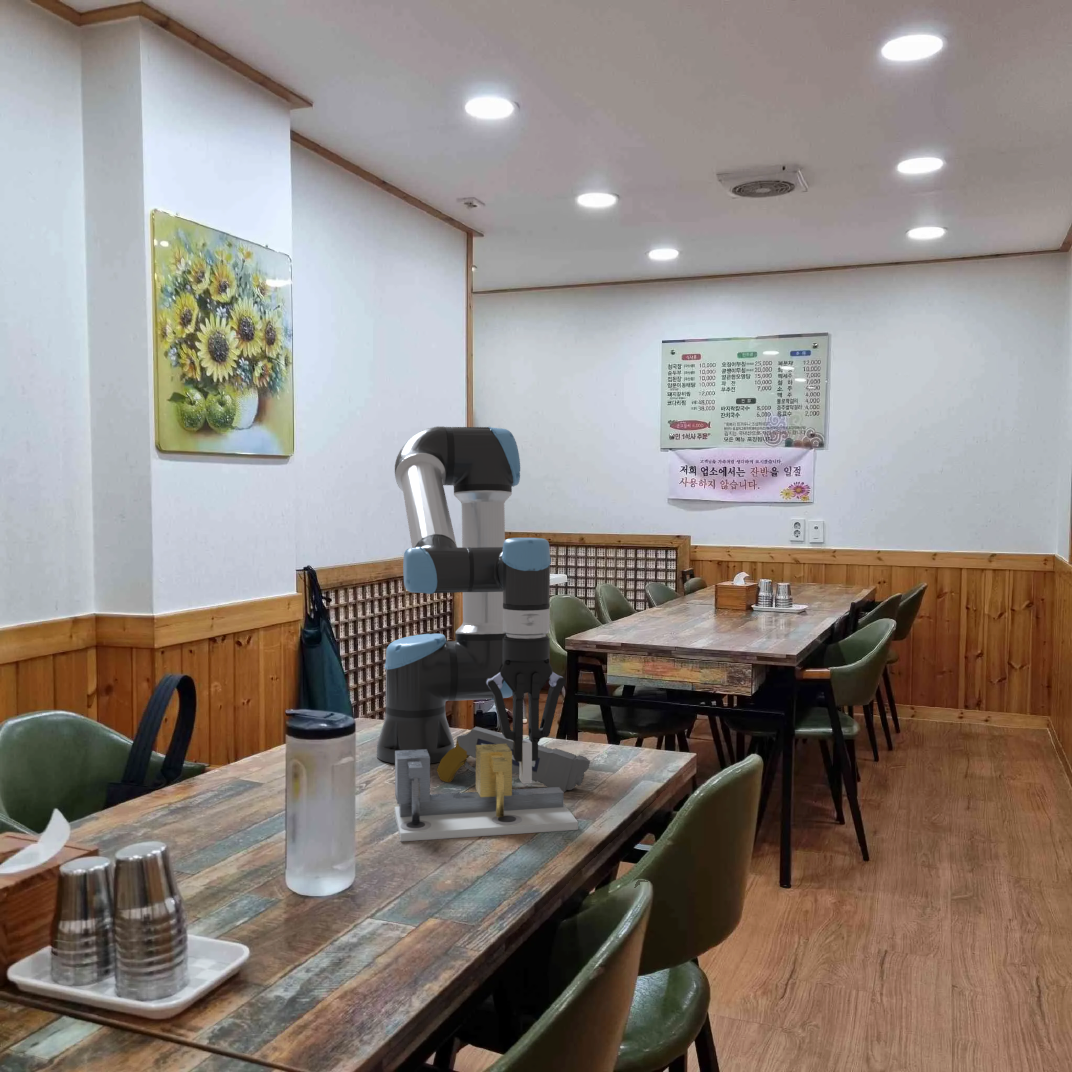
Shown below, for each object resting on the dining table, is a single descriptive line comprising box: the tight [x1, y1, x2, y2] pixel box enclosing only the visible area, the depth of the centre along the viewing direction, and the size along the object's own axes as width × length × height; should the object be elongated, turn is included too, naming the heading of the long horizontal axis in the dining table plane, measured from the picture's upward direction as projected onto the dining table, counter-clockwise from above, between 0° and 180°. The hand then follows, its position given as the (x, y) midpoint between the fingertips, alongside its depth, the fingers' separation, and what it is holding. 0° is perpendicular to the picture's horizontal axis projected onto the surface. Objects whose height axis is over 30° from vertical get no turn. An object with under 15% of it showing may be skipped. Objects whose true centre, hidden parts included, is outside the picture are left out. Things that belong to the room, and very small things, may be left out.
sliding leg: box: [475, 744, 513, 817], centre depth 158 cm, size 9×5×9 cm, turn 12°
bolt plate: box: [394, 803, 579, 842], centre depth 157 cm, size 13×27×1 cm, turn 102°
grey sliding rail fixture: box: [394, 749, 565, 824], centre depth 158 cm, size 9×26×9 cm, turn 102°
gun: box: [436, 726, 591, 793], centre depth 177 cm, size 3×25×15 cm, turn 76°
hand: (525, 780), depth 161 cm, fingers closed
